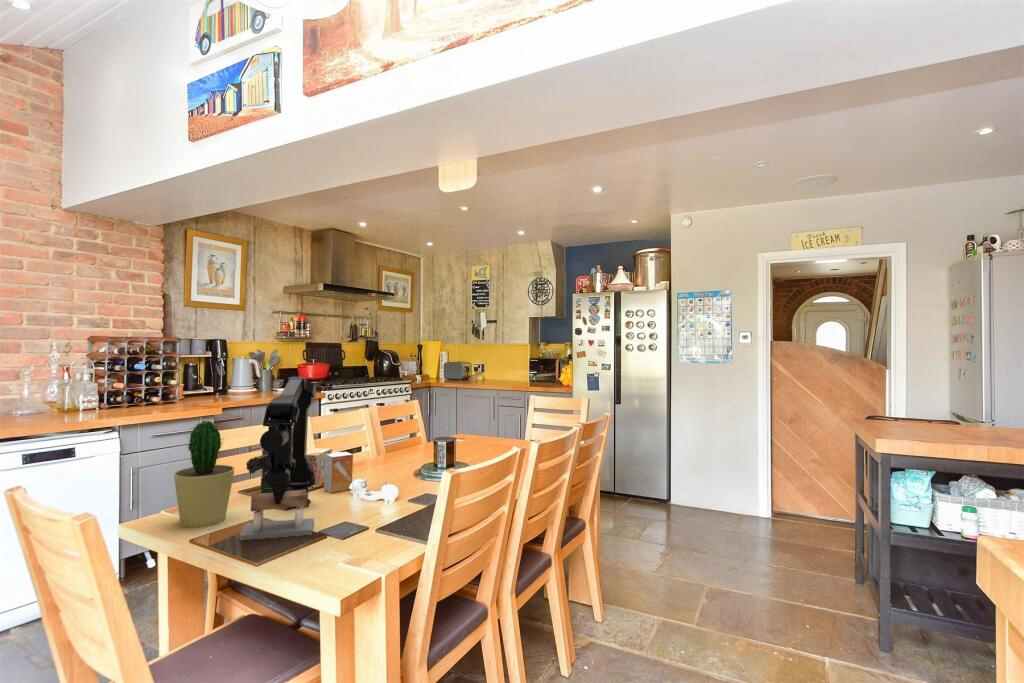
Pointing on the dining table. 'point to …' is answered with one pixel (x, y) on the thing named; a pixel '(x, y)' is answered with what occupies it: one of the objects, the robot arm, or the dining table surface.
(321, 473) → the patterned carton
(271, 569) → the dining table surface
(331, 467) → the small box
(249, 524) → the grey base with posts
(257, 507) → the shelf board
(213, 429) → the potted cactus
